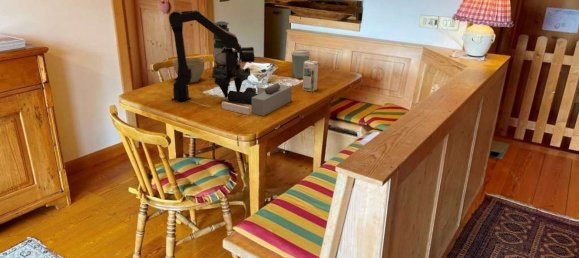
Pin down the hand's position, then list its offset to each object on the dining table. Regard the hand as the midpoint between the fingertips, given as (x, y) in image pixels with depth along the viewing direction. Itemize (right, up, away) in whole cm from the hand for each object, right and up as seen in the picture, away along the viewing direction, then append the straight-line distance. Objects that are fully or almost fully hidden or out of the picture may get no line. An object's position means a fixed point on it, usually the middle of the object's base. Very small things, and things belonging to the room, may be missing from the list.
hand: (232, 94), depth 201 cm
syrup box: (+37, +4, +17) cm, 41 cm away
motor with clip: (+13, -5, -6) cm, 15 cm away
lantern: (-9, +13, +36) cm, 40 cm away
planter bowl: (-26, +9, +26) cm, 38 cm away
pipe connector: (+7, -3, -1) cm, 8 cm away
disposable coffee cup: (+33, +13, +39) cm, 53 cm away
